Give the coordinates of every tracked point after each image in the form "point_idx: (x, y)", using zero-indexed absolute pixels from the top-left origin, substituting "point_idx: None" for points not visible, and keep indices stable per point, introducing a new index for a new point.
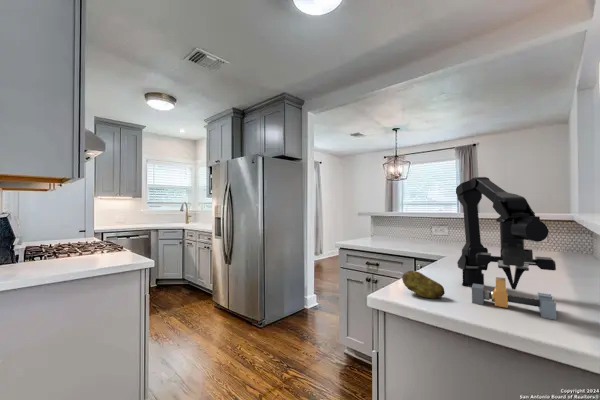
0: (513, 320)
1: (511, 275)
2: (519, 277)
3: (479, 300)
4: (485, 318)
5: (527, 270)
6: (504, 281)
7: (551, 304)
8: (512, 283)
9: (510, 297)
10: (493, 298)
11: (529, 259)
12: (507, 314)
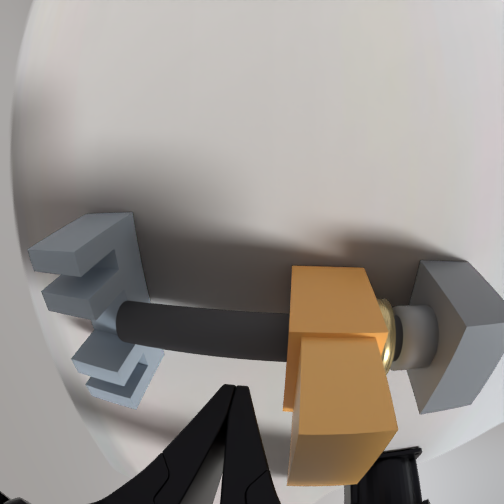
0: (263, 46)
1: (222, 501)
2: (147, 471)
3: (446, 273)
4: (407, 5)
5: (14, 499)
6: (309, 428)
7: (48, 245)
8: (233, 426)
9: (269, 333)
10: (378, 302)
11: None
12: (298, 143)
